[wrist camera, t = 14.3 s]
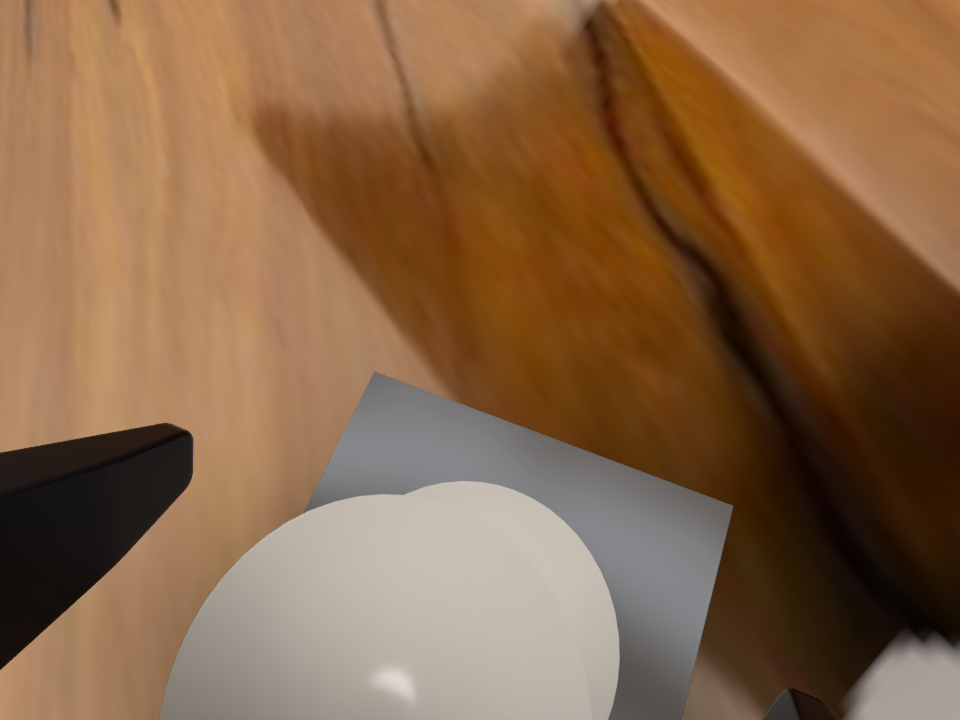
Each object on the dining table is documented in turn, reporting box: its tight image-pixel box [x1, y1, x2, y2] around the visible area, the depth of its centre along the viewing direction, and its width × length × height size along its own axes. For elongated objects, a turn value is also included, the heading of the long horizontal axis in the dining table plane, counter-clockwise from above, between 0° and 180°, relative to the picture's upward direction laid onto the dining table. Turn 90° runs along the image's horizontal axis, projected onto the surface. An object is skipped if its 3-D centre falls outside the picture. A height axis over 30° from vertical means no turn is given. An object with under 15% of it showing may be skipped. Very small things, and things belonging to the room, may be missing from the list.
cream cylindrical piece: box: [160, 481, 620, 720], centre depth 12 cm, size 8×8×12 cm
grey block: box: [303, 372, 733, 720], centre depth 19 cm, size 13×13×2 cm
